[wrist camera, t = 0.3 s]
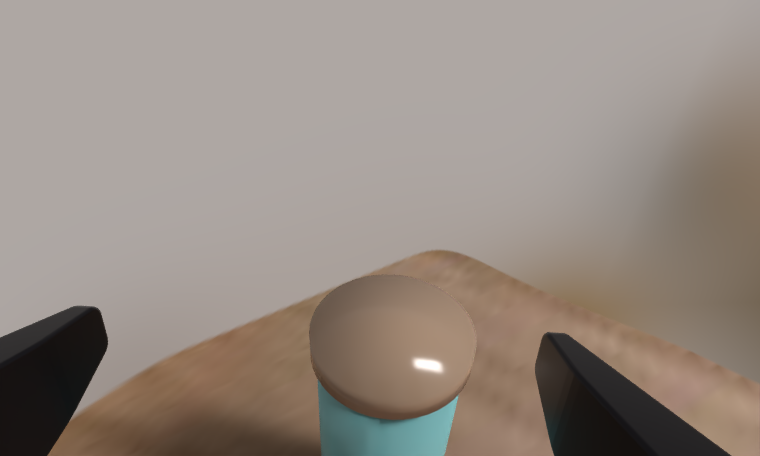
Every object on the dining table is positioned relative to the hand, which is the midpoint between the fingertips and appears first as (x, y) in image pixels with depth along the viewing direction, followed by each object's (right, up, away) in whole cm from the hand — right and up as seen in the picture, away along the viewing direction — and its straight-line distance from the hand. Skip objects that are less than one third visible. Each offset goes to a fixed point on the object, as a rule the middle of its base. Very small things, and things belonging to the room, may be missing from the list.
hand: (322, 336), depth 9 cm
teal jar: (+1, -11, +12) cm, 17 cm away
